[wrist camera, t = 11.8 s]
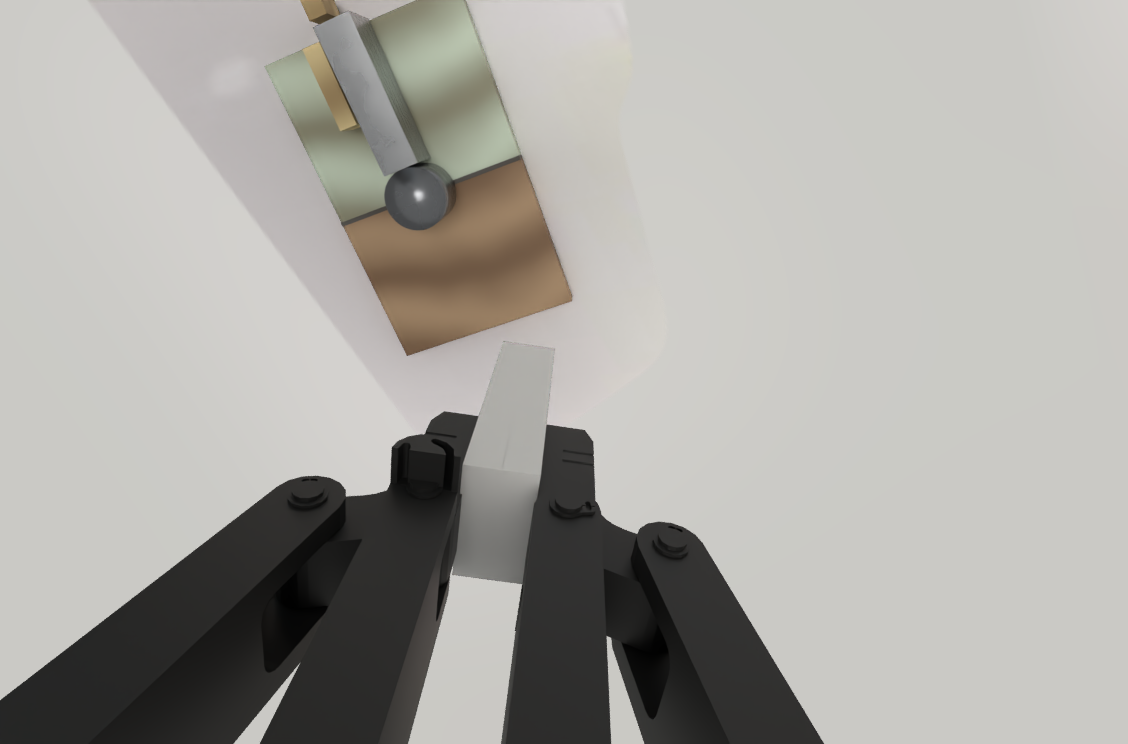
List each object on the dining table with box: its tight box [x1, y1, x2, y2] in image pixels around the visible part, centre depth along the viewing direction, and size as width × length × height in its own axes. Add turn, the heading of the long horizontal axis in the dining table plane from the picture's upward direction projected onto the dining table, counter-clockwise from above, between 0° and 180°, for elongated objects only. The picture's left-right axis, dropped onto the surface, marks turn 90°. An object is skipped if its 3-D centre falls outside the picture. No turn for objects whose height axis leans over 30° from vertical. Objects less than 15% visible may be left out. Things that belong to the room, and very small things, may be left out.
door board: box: [265, 0, 572, 356], centre depth 42 cm, size 24×14×4 cm, turn 20°
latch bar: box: [313, 11, 456, 231], centre depth 39 cm, size 13×4×4 cm, turn 21°
